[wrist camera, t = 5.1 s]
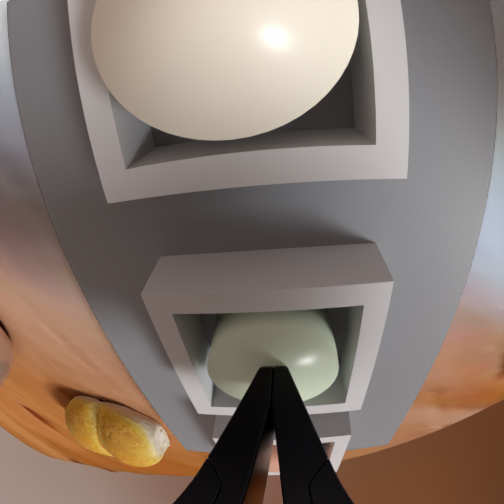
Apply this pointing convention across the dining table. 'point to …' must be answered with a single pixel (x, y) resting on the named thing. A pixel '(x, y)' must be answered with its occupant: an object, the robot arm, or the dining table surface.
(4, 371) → the plastic bottle
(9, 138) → the dining table surface
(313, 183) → the panel
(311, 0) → the cream button
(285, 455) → the robot arm
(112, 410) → the bread roll
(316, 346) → the sage button
